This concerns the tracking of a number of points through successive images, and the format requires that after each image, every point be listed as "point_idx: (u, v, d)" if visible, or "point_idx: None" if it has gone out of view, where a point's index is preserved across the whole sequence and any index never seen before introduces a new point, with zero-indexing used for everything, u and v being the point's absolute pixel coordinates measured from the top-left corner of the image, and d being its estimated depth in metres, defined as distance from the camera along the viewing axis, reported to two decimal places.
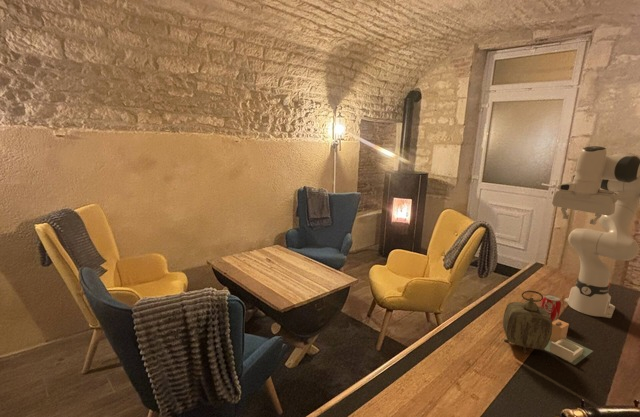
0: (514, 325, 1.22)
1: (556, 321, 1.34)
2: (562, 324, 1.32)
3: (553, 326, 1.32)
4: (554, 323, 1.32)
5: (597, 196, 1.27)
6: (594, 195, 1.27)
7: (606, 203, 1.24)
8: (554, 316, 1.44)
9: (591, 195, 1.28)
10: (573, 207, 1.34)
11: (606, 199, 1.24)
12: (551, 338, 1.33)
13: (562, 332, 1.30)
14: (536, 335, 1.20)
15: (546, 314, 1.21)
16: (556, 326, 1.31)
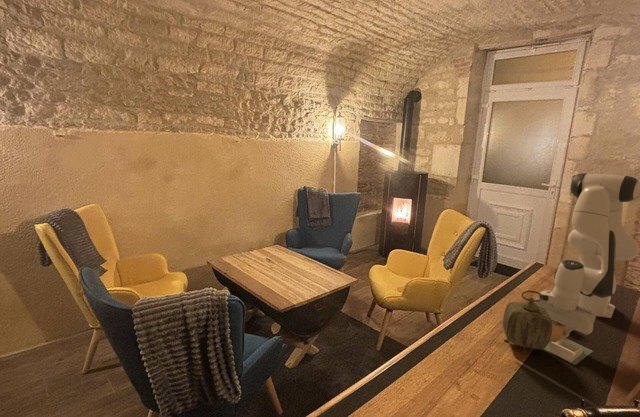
0: (514, 325, 1.22)
1: None
2: None
3: (553, 326, 1.32)
4: (554, 323, 1.32)
5: (575, 313, 1.26)
6: (572, 311, 1.27)
7: (584, 322, 1.24)
8: None
9: (569, 311, 1.27)
10: (552, 318, 1.33)
11: (583, 318, 1.24)
12: (551, 338, 1.33)
13: (562, 332, 1.30)
14: (536, 335, 1.20)
15: (546, 314, 1.21)
16: (556, 326, 1.31)
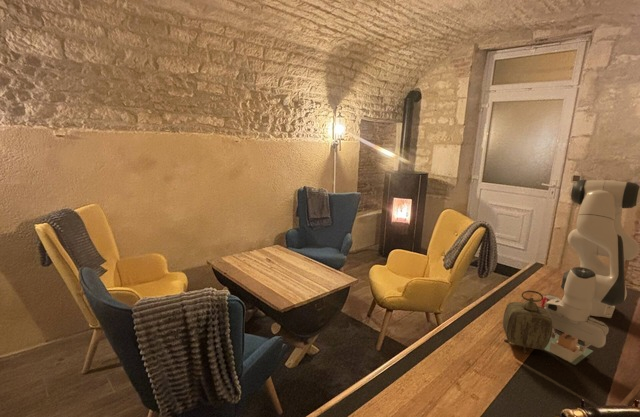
0: (514, 325, 1.22)
1: (565, 334, 1.25)
2: (571, 337, 1.23)
3: (562, 339, 1.23)
4: (563, 336, 1.24)
5: (587, 325, 1.17)
6: (583, 323, 1.18)
7: (596, 334, 1.15)
8: None
9: (580, 322, 1.19)
10: (561, 329, 1.24)
11: (596, 330, 1.15)
12: None
13: (571, 346, 1.22)
14: (536, 334, 1.20)
15: (546, 314, 1.21)
16: (565, 339, 1.22)
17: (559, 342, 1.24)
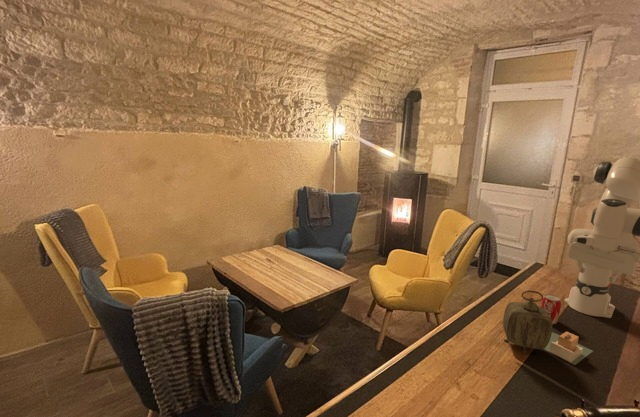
0: (514, 325, 1.22)
1: (565, 334, 1.25)
2: (571, 337, 1.23)
3: (562, 339, 1.23)
4: (563, 336, 1.24)
5: (617, 253, 1.19)
6: (614, 252, 1.20)
7: (627, 262, 1.17)
8: (554, 316, 1.44)
9: (610, 251, 1.21)
10: (590, 262, 1.26)
11: (627, 257, 1.17)
12: None
13: (571, 346, 1.22)
14: (536, 335, 1.20)
15: (546, 314, 1.21)
16: (565, 339, 1.22)
17: (559, 342, 1.24)
